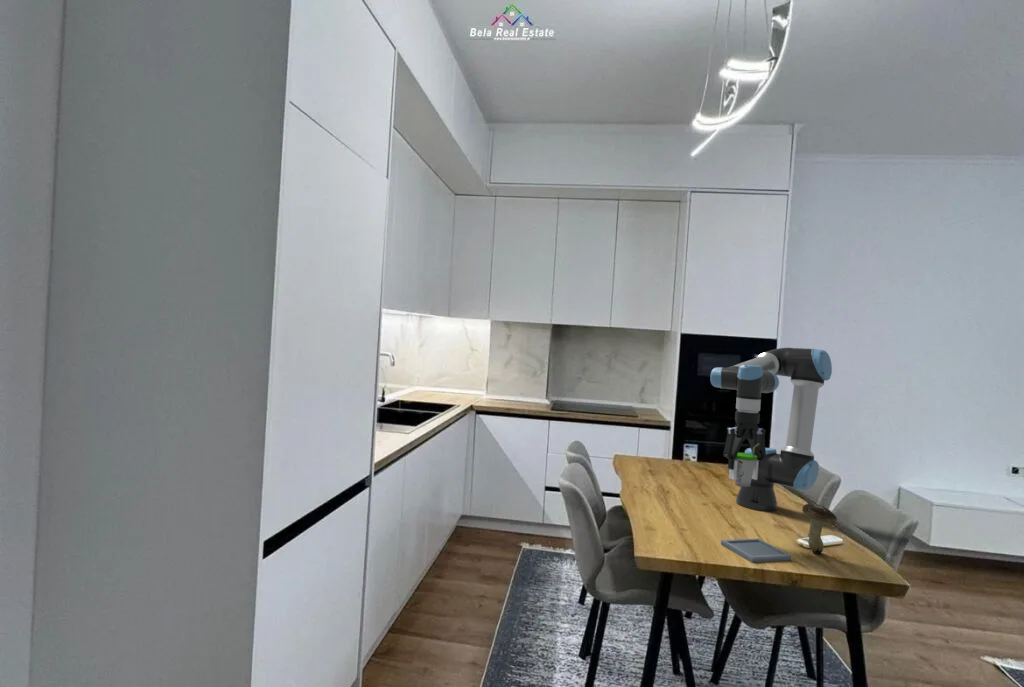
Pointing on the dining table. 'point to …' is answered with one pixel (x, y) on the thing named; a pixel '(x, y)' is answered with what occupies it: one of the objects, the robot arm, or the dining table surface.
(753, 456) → the cup
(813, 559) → the dining table surface
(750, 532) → the dining table surface
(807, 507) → the mushroom
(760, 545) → the tray
